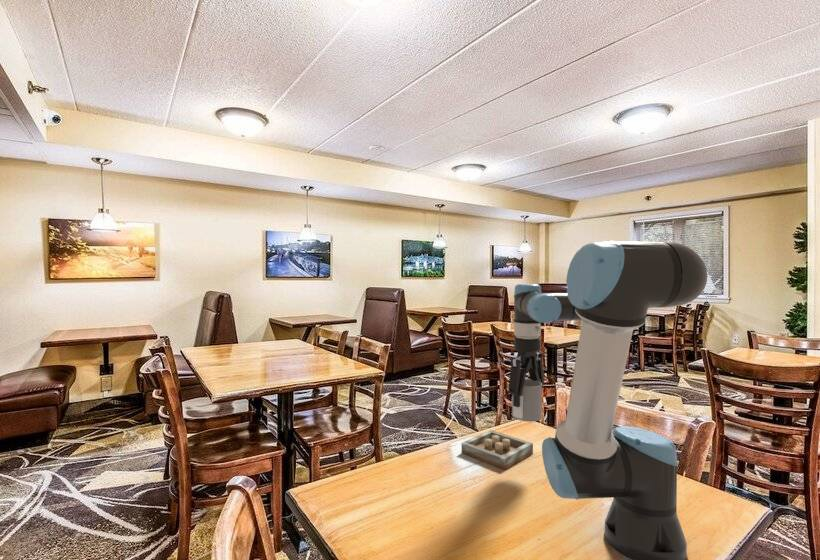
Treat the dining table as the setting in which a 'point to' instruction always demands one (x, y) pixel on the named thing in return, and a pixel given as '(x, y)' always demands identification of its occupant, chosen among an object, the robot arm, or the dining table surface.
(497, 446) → the grey square tray
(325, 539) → the dining table surface
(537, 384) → the cup
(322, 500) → the dining table surface
